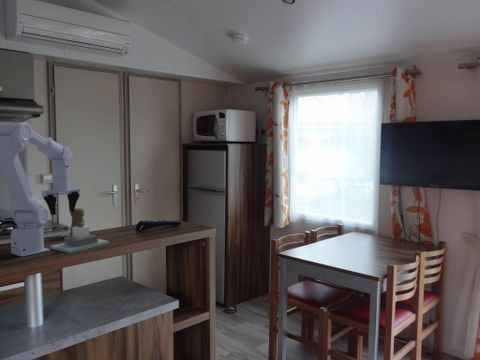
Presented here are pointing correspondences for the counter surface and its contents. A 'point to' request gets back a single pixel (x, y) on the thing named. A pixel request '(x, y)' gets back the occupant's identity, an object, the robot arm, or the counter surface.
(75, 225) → the cork
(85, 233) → the plug
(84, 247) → the socket
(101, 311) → the counter surface
